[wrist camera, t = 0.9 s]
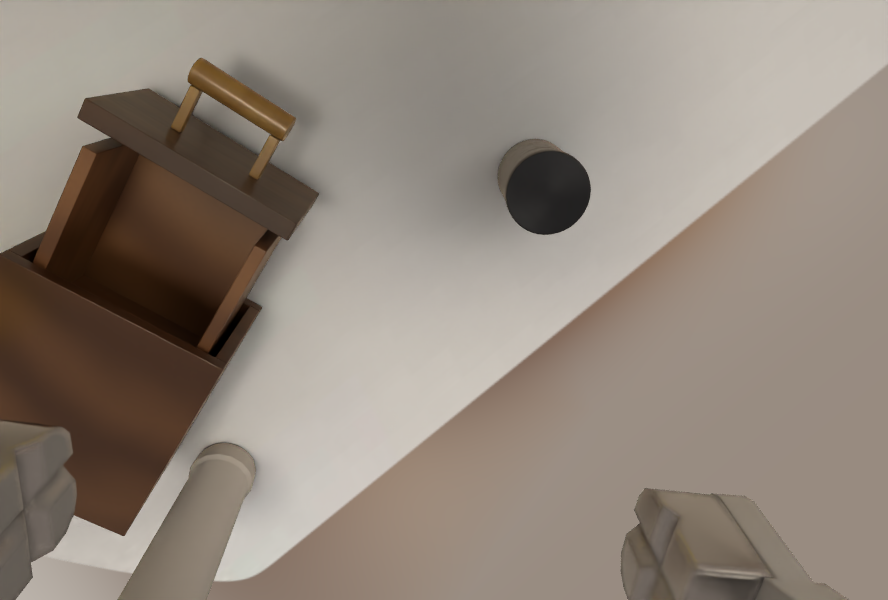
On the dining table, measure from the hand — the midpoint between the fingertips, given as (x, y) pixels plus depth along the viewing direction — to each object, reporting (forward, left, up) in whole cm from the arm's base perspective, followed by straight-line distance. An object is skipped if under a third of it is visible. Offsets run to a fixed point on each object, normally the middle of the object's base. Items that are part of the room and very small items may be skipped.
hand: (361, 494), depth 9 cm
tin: (-3, +8, -35) cm, 36 cm away
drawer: (+11, -10, -34) cm, 37 cm away
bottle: (+31, +1, -35) cm, 47 cm away
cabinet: (+24, -10, -35) cm, 44 cm away
